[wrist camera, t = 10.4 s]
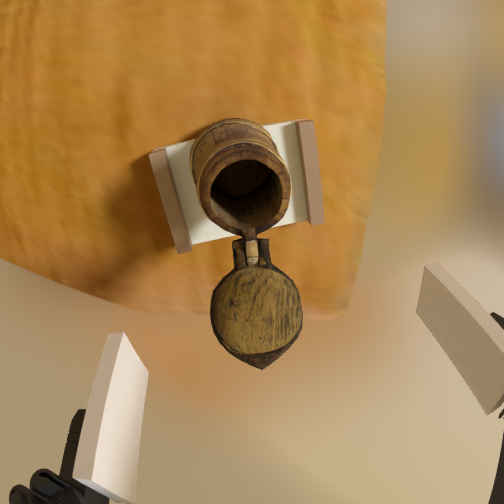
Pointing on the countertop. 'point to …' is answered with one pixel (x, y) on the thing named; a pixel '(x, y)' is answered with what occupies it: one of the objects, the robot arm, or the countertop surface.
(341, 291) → the countertop surface
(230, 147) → the wooden mug
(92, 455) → the robot arm
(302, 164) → the ledge board
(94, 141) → the countertop surface
